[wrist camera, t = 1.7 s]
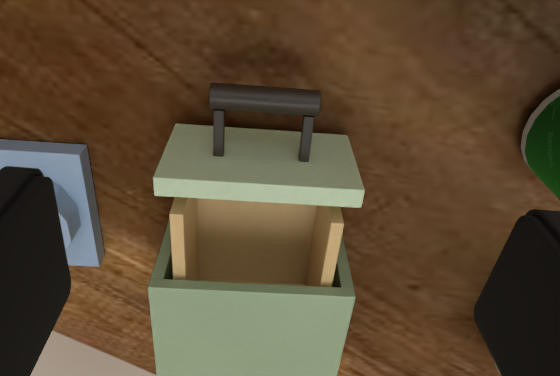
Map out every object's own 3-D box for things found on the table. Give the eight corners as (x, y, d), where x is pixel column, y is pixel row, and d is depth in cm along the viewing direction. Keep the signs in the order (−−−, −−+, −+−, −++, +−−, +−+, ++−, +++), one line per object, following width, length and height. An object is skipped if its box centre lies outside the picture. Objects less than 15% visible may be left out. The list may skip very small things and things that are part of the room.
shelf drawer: (172, 57, 28) (146, 100, 22) (358, 71, 28) (381, 117, 22) (182, 274, 37) (166, 344, 31) (321, 281, 38) (330, 351, 32)
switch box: (-33, 136, 31) (-65, 162, 28) (87, 144, 32) (68, 170, 29) (3, 249, 37) (-21, 280, 34) (105, 254, 37) (90, 285, 34)
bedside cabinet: (173, 204, 34) (147, 287, 27) (338, 214, 35) (355, 297, 28) (180, 333, 42) (161, 424, 35) (315, 339, 43) (323, 429, 36)
